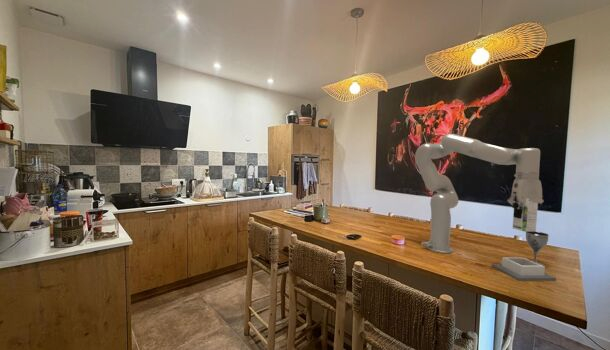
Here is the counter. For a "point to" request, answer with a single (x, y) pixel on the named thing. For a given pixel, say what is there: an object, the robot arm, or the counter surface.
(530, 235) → the wine glass
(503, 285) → the counter surface
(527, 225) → the syrup box
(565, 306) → the counter surface
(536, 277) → the dock
